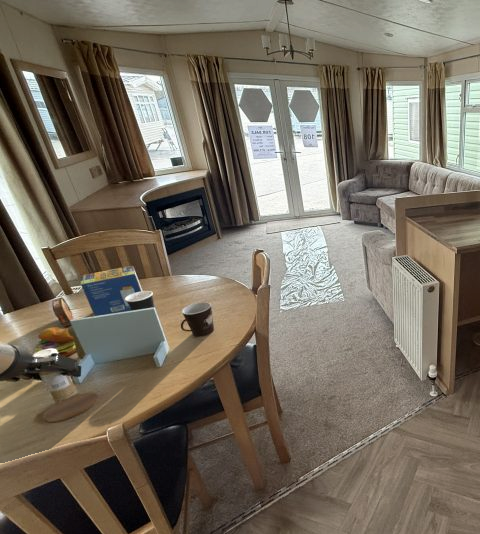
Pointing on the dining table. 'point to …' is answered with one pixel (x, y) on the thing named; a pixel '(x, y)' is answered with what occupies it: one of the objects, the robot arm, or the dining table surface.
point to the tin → (62, 311)
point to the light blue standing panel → (119, 338)
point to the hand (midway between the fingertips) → (66, 374)
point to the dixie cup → (140, 300)
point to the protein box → (110, 290)
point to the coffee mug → (198, 318)
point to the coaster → (70, 407)
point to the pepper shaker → (77, 343)
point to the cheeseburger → (56, 341)
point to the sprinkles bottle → (56, 380)
